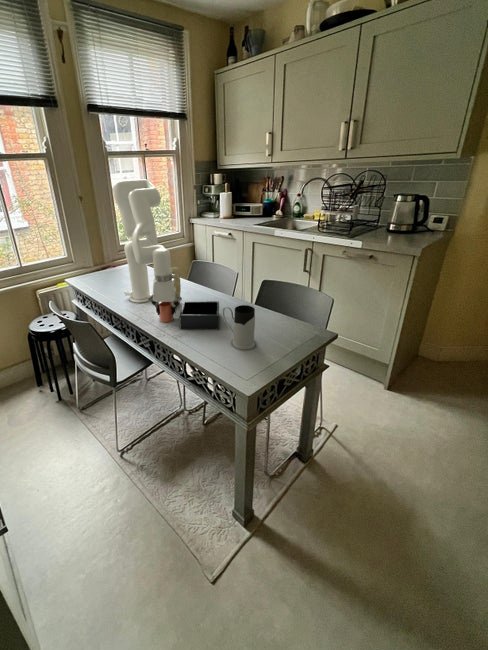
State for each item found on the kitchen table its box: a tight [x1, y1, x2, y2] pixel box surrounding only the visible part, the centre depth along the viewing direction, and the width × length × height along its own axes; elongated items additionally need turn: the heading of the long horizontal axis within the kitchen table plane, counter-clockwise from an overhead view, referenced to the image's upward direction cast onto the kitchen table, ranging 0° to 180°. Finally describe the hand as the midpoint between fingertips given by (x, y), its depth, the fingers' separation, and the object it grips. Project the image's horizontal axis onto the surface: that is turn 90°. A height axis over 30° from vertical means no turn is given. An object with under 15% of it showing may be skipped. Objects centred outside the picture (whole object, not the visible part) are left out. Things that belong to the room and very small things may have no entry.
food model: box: [171, 266, 182, 306], centre depth 157 cm, size 10×7×20 cm
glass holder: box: [222, 304, 256, 350], centre depth 123 cm, size 9×14×15 cm, turn 49°
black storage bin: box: [179, 300, 220, 330], centre depth 142 cm, size 17×15×7 cm
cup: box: [159, 302, 174, 323], centre depth 145 cm, size 6×6×8 cm
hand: (166, 313), depth 146 cm, fingers closed on cup, 6 cm apart
